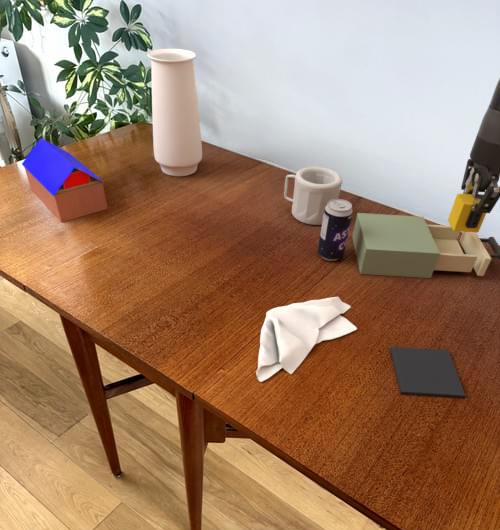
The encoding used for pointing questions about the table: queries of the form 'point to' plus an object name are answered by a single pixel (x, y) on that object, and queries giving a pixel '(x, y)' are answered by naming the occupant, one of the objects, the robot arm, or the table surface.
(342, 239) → the beverage can
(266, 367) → the cloth
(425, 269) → the cabinet
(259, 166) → the table surface
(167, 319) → the table surface
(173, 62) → the vase
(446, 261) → the drawer
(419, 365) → the mat
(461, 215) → the yellow block
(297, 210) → the mug
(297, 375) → the table surface
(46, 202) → the house
